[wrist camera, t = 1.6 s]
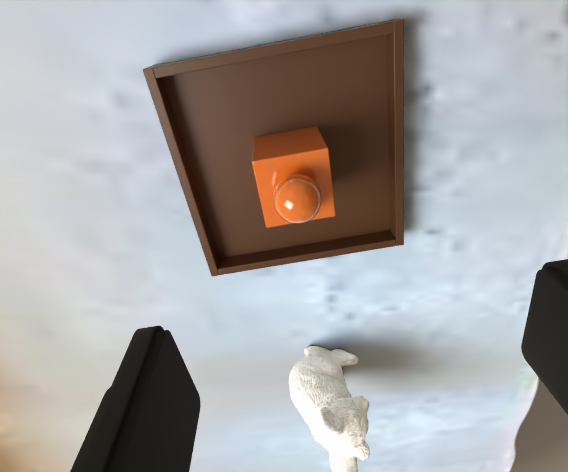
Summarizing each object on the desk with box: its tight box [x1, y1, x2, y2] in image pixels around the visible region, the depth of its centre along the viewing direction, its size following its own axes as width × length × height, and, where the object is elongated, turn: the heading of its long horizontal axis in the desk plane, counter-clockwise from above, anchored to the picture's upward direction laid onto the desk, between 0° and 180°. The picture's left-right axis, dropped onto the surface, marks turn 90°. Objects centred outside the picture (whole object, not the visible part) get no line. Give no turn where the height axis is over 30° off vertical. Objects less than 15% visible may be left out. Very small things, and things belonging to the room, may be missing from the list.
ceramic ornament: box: [252, 126, 335, 228], centre depth 23 cm, size 4×4×8 cm
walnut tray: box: [143, 20, 404, 276], centre depth 26 cm, size 15×15×2 cm
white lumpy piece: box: [289, 346, 370, 472], centre depth 32 cm, size 8×7×12 cm
